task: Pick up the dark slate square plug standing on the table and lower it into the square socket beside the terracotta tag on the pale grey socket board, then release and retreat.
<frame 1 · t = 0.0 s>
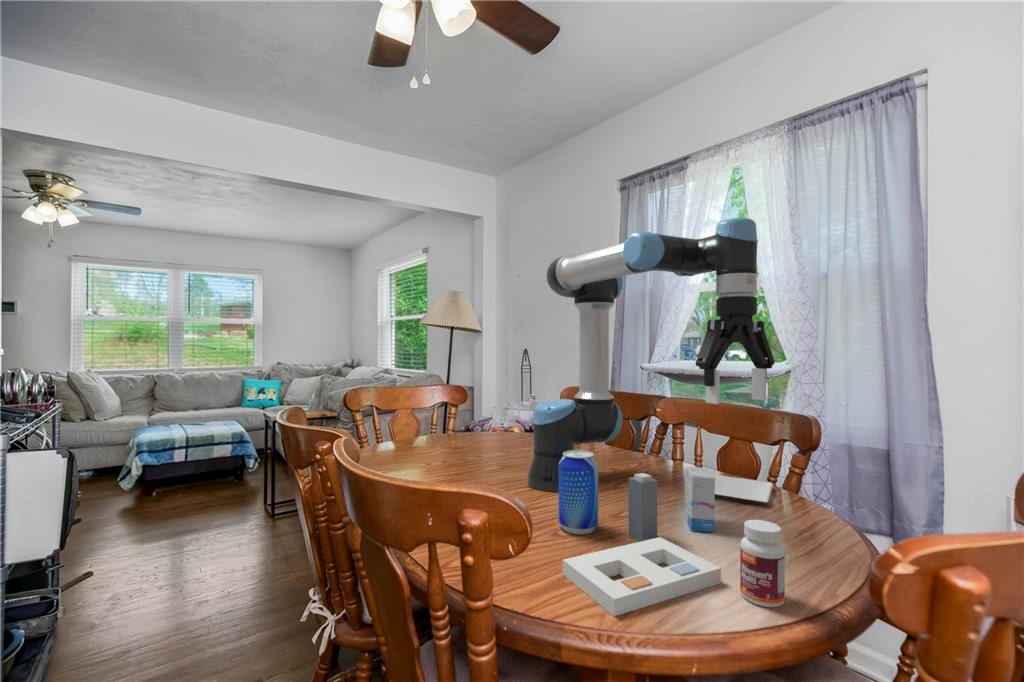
hand: (736, 401, 96), 28 cm above the table, fingers open, 13 cm apart
ink box: (699, 525, 104), on the table
plate: (731, 494, 127), on the table
pill bottle: (762, 599, 74), on the table
plug: (642, 537, 97), on the table
beer can: (578, 529, 102), on the table
socket board: (640, 578, 80), on the table
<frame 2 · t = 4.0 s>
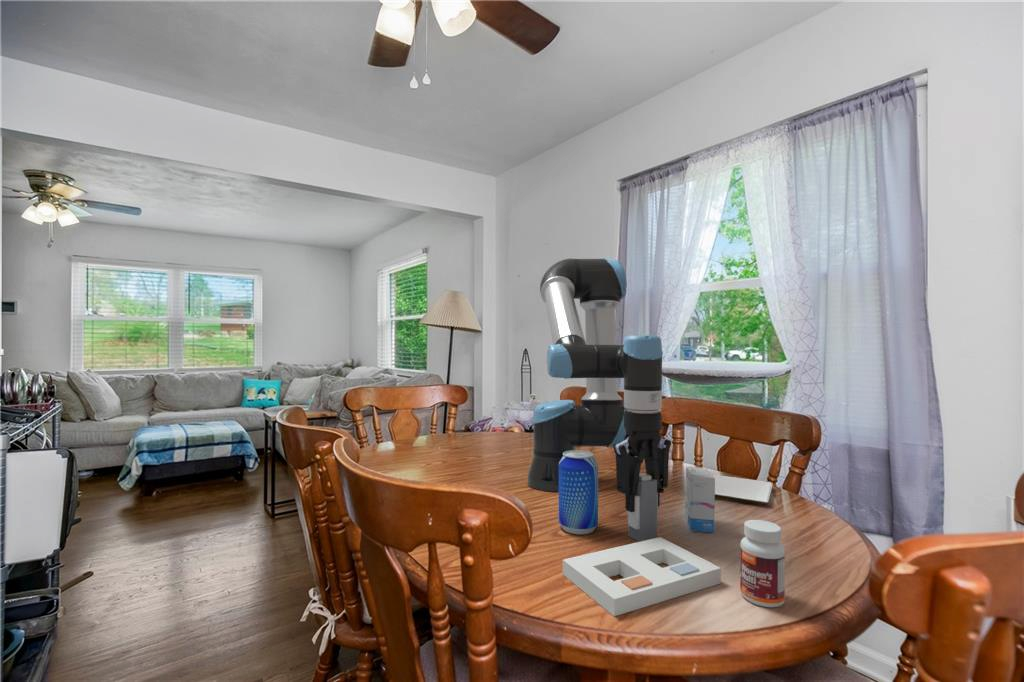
hand: (642, 524, 97), 3 cm above the table, fingers closed on plug, 4 cm apart
plug: (642, 537, 97), on the table, touching gripper
everything else where it was.
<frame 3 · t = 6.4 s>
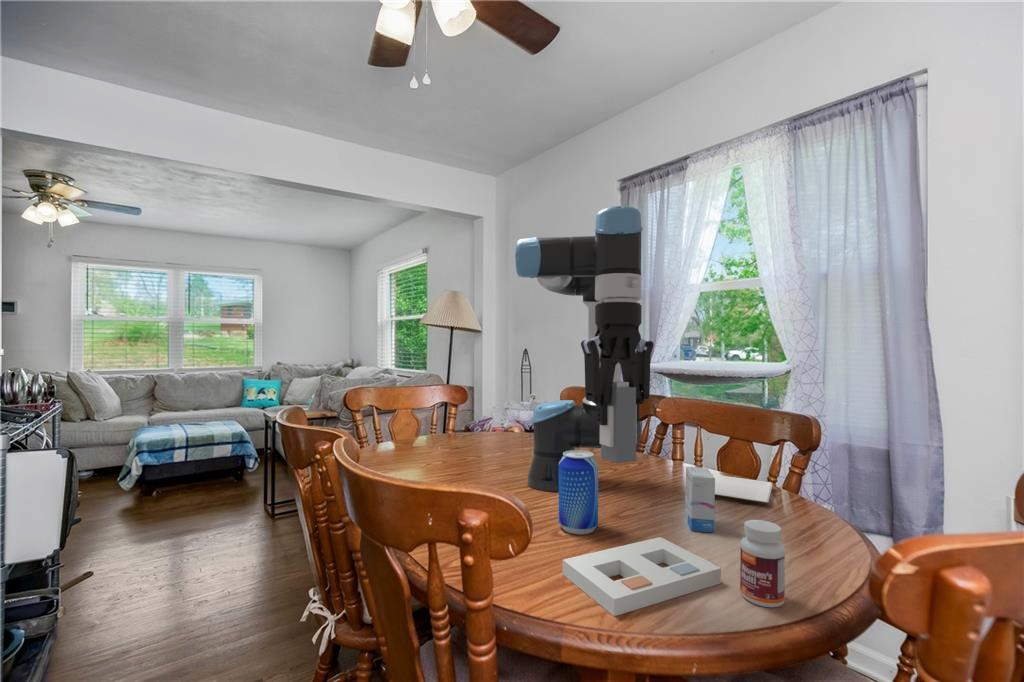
hand: (618, 443, 78), 23 cm above the table, fingers closed on plug, 4 cm apart
plug: (618, 459, 78), point 20 cm above the table, touching gripper
everything else where it was.
when the fingers open (4 cm above the table, at t = 9.2 s): plug drops 1 cm, resting in socket board.
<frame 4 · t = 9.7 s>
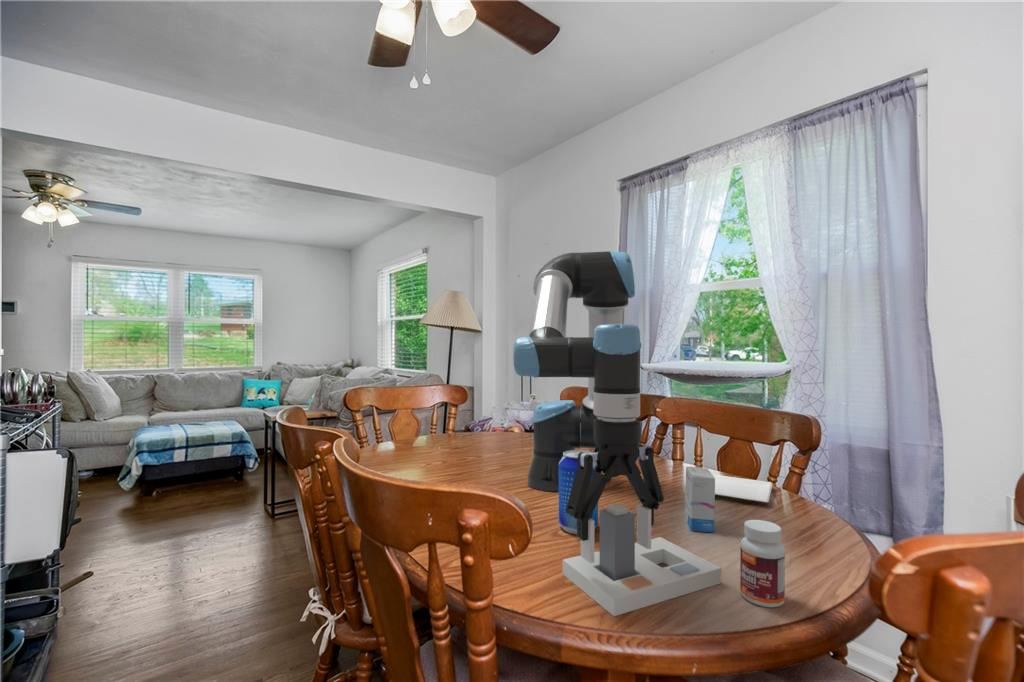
hand: (616, 552, 78), 5 cm above the table, fingers open, 11 cm apart
plug: (616, 585, 77), resting in socket board
everything else where it was.
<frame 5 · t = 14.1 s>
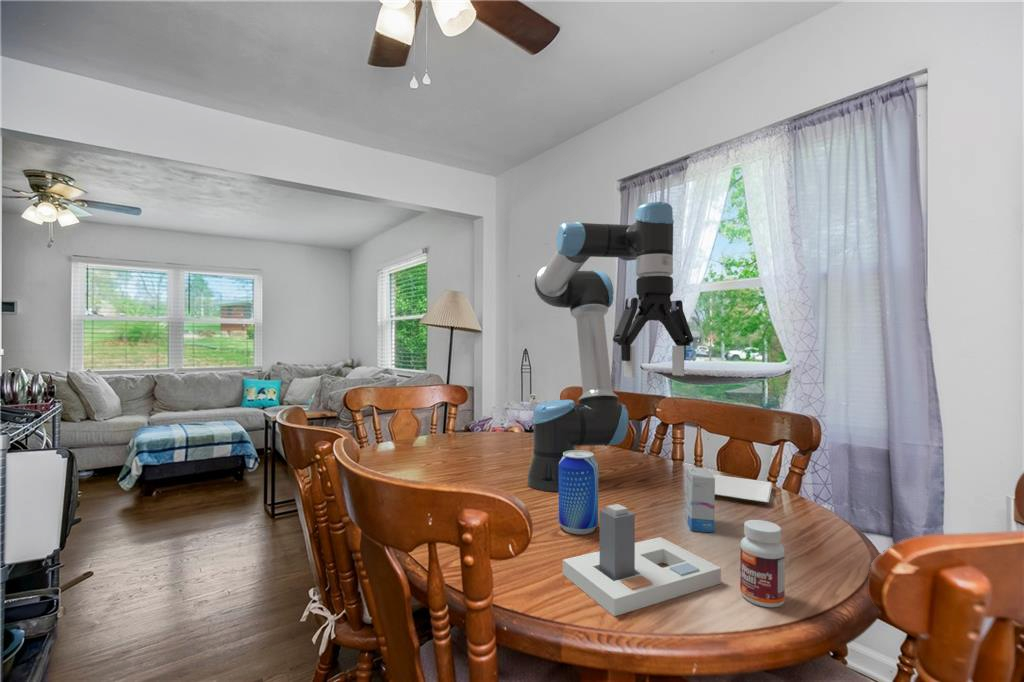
hand: (654, 376, 101), 33 cm above the table, fingers open, 13 cm apart
nothing on the table moved.
at the end: plug 0.1 cm from the target spot on the socket board, point 0.0 cm above the socket board's base; plug tilted 0°; the gripper is holding nothing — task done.
